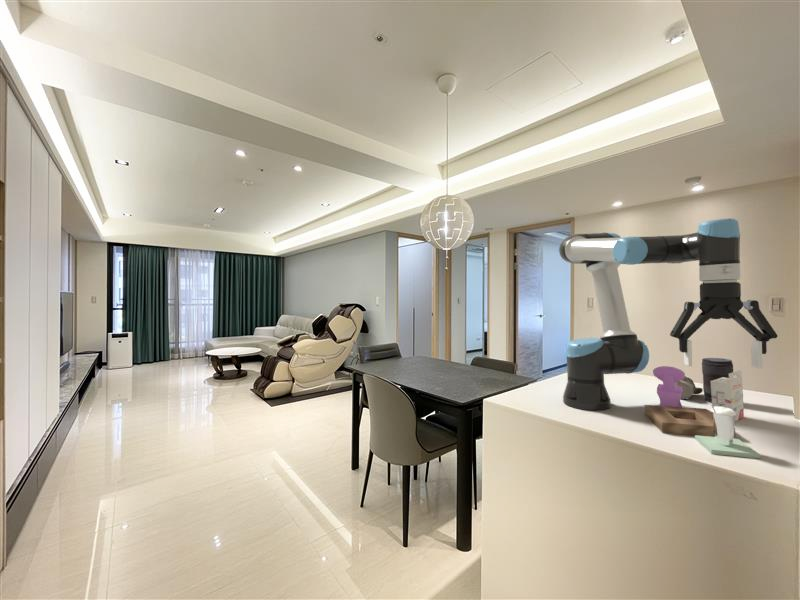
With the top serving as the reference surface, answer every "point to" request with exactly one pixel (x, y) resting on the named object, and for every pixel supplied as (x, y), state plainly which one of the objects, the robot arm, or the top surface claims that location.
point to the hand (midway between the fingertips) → (721, 366)
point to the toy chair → (669, 385)
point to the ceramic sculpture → (688, 388)
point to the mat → (727, 447)
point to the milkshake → (723, 425)
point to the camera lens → (714, 372)
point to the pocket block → (681, 420)
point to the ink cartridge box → (729, 393)
